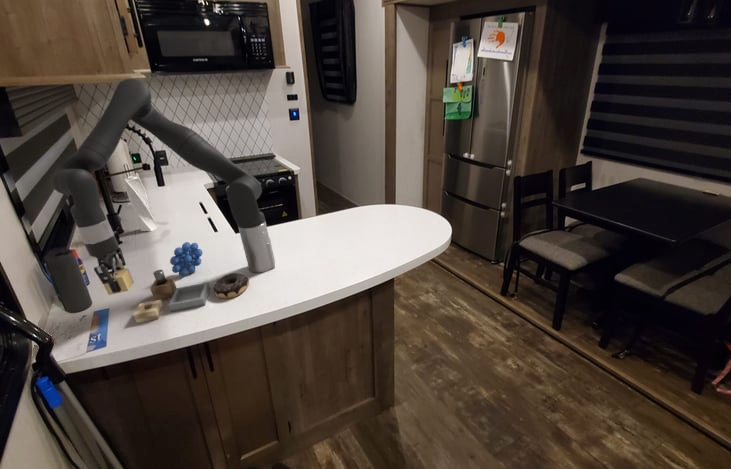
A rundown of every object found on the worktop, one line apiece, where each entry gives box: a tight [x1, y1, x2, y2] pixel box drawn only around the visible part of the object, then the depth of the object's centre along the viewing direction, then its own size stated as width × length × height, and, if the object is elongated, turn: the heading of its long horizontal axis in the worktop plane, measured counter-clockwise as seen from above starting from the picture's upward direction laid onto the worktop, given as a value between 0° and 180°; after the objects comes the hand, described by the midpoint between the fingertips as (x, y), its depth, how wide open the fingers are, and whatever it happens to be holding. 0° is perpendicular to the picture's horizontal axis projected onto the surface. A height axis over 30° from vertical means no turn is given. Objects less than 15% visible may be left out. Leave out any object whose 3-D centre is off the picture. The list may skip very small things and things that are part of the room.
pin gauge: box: [152, 269, 167, 285], centre depth 122 cm, size 3×3×9 cm
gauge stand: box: [133, 300, 164, 324], centre depth 113 cm, size 6×6×3 cm
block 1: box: [103, 268, 135, 296], centre depth 113 cm, size 6×6×5 cm
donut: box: [213, 272, 250, 299], centre depth 122 cm, size 11×12×4 cm
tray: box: [168, 282, 211, 313], centre depth 119 cm, size 10×10×2 cm
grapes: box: [169, 241, 203, 277], centre depth 134 cm, size 12×7×12 cm, turn 136°
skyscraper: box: [123, 172, 159, 232], centre depth 175 cm, size 8×8×28 cm
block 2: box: [149, 276, 177, 302], centre depth 122 cm, size 6×6×5 cm
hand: (120, 286), depth 114 cm, fingers closed on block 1, 5 cm apart
